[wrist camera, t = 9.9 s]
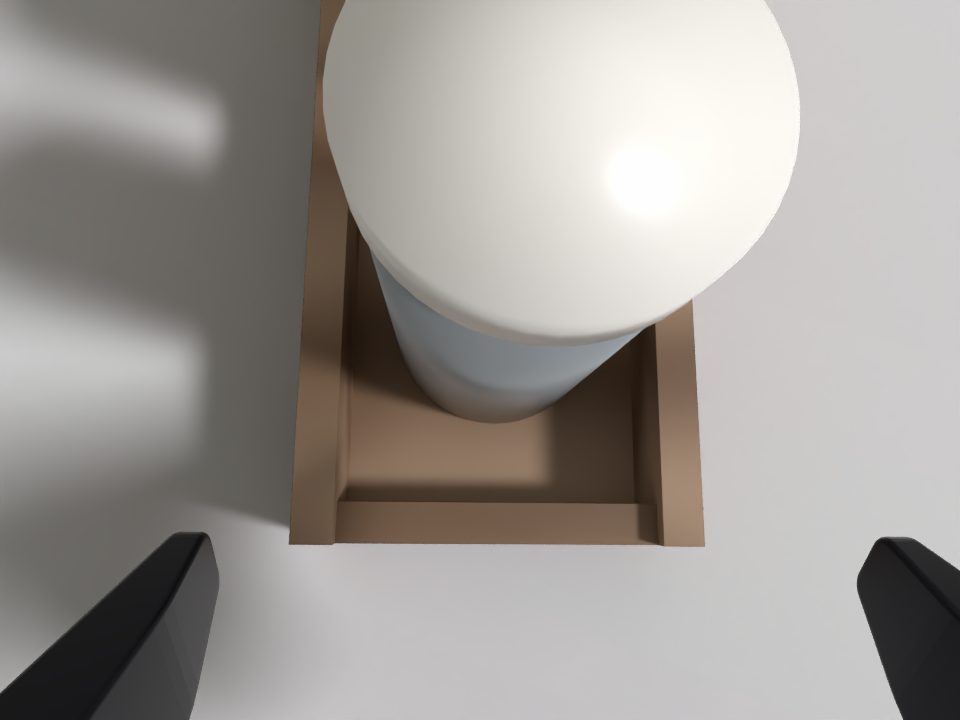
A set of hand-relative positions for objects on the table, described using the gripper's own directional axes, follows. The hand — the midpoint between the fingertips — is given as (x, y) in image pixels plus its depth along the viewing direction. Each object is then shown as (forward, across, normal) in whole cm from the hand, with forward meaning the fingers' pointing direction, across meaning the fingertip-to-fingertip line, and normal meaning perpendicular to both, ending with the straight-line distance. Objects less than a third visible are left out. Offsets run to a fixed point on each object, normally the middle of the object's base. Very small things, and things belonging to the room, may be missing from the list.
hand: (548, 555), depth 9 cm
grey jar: (+11, 0, +3) cm, 11 cm away
